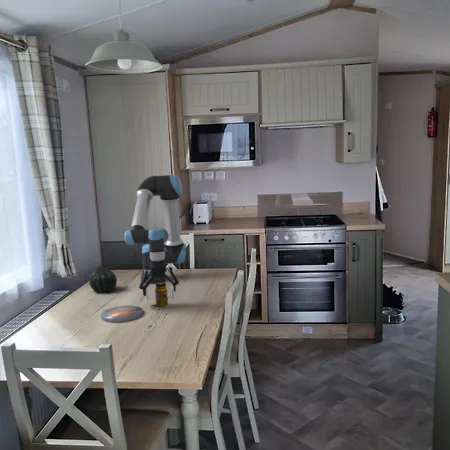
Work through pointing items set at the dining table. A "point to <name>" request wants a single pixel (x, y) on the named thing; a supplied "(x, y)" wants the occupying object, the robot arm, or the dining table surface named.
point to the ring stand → (122, 313)
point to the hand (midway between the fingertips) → (159, 299)
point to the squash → (102, 279)
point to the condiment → (161, 296)
